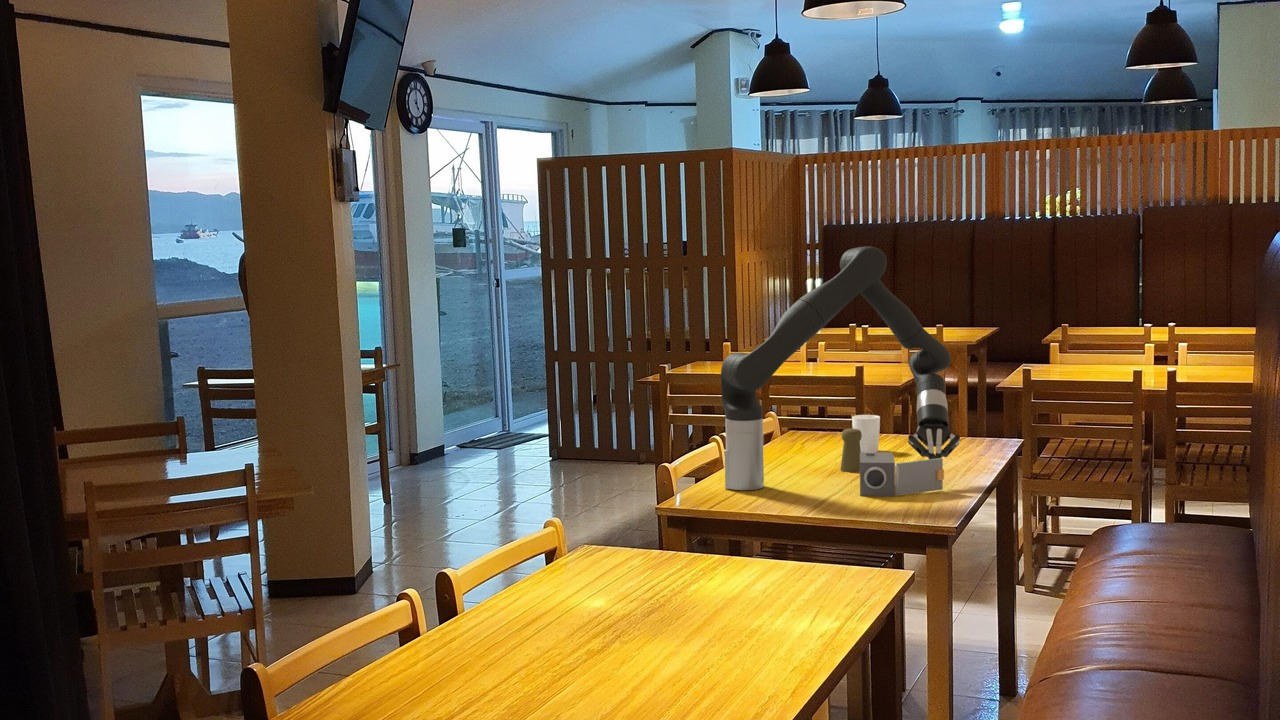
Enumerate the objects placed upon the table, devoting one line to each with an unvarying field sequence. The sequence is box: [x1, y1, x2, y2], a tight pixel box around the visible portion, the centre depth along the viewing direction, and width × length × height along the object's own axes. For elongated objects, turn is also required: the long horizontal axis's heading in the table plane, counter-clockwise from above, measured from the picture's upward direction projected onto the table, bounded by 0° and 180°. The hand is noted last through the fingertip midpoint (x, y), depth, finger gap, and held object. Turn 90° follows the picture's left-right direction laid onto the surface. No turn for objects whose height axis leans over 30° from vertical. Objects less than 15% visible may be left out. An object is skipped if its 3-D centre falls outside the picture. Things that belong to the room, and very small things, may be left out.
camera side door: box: [895, 457, 945, 496], centre depth 281 cm, size 2×14×8 cm, turn 115°
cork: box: [839, 427, 862, 473], centre depth 312 cm, size 6×6×11 cm
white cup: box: [851, 414, 881, 452], centre depth 340 cm, size 8×8×10 cm
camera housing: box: [859, 451, 896, 497], centre depth 286 cm, size 8×15×9 cm, turn 170°
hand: (935, 469), depth 286 cm, fingers closed
